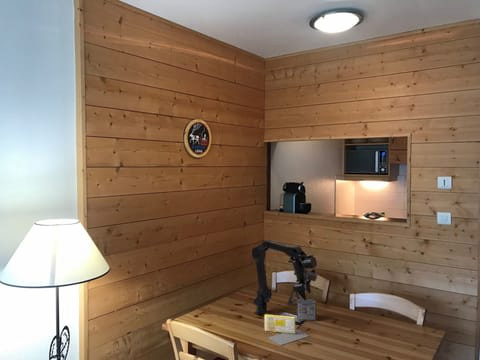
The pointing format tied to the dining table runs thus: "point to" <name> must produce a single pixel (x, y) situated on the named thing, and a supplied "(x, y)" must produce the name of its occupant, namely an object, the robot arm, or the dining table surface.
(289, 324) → the candy box
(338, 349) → the dining table surface
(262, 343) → the dining table surface
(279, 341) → the placemat
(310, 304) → the small box
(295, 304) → the phone stand
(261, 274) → the robot arm
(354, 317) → the dining table surface
